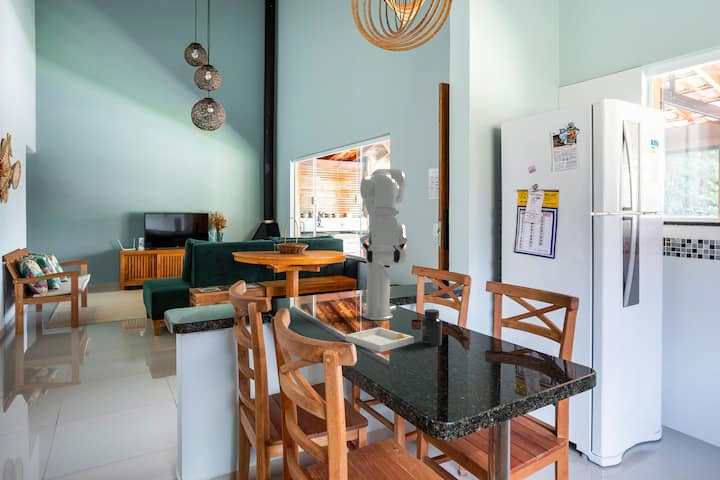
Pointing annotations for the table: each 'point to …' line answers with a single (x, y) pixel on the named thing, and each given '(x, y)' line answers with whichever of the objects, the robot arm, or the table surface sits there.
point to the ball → (400, 336)
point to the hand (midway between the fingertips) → (383, 262)
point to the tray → (379, 339)
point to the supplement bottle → (431, 328)
